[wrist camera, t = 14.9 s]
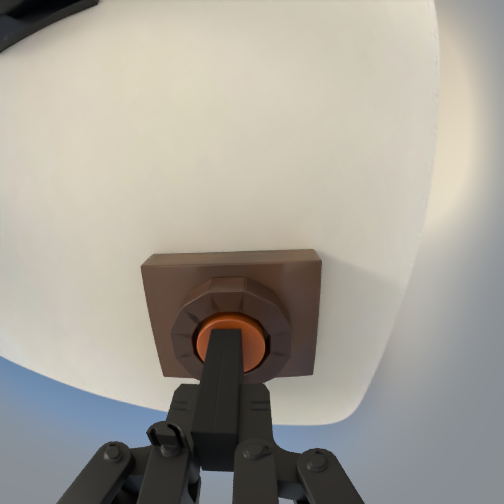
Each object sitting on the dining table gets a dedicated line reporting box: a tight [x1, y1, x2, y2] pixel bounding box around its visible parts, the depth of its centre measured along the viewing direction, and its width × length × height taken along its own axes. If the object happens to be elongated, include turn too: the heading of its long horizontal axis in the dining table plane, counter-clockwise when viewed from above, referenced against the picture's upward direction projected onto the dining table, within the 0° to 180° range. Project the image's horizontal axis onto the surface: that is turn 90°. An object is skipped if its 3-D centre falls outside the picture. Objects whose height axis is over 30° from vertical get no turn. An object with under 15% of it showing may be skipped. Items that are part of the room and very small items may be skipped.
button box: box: [141, 249, 322, 384], centre depth 17 cm, size 10×8×4 cm
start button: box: [197, 312, 265, 372], centre depth 16 cm, size 4×4×2 cm
